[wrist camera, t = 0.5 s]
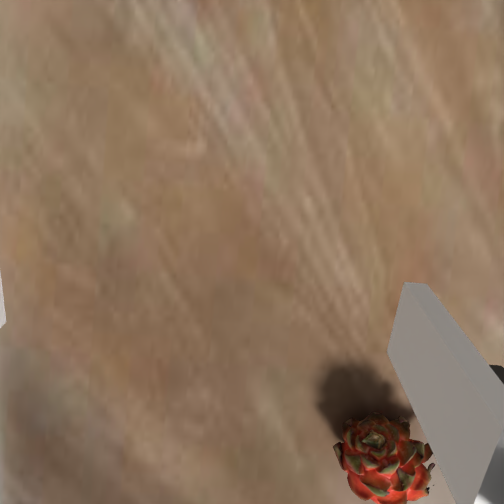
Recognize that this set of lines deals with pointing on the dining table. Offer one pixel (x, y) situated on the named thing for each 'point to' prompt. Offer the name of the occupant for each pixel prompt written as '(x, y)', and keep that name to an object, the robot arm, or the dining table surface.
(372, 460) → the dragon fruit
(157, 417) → the dining table surface
